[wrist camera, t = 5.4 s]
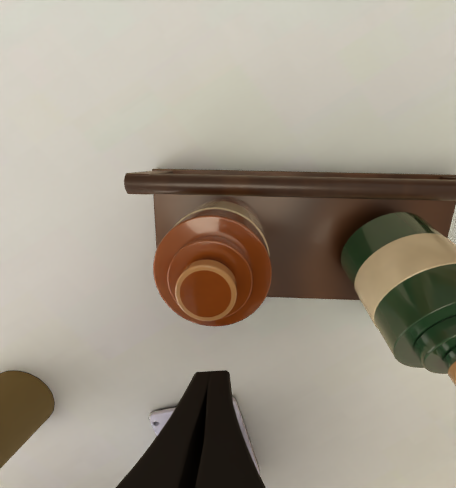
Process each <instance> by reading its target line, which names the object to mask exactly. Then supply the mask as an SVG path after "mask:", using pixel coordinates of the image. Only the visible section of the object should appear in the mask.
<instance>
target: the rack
mask: <svg viewBox="0 0 456 488" xmlns="http://www.w3.org/2000/svg"><path fill="white" fill-rule="evenodd" d="M124 185H125V189H126V191H127V193H128V194H154V212H155V229H156V247H157V248H158V246H159V244H160V242H161V240H162V239H163V238H164V236H165V235H166V234H167V233H168V232H169V231H170V230H171V229H172V228H173V227H174V226H175V225H176V223H177V222H179V221H180V220H181V219H182V218H183V217H184V216H185V215H186V214H187V213H189V212H190V211H191V210H192V209H194V208H195V207H197V206H198V205H199V204H201V203H202V202H204V201H206V200H209V199H213V198H218V197H227V198H233V199H236V200H239V201H241V202H243V203H245V204H246V205H248V206H249V207H250V208H251V209H252V210H253V211H254V212H255V213H256V215H257V216H258V218H259V220H260V222H261V224H262V227H263V230H264V233H265V236H266V240H267V244H268V248H269V254H270V261H271V267H272V279H271V285H270V289H269V291H268V294H267V296H266V297H290V298H319V299H348V300H360V299H359V297H358V295H357V293H356V291H355V288H354V287H353V285H352V283H351V281H350V280H349V278H348V276H347V275H346V273H345V271H344V269H343V268H342V265H341V253H342V250H343V247H344V245H345V244H346V242H347V241H348V239H349V238H350V237H351V236H352V234H353V233H354V232H355V231H357V230H358V229H359V228H360V227H361V226H363V225H364V224H366V223H367V222H369V221H371V220H373V219H375V218H377V217H380V216H383V215H386V214H390V213H396V212H408V213H413V214H416V215H418V216H420V217H422V218H423V219H424V220H426V221H427V222H428V223H429V224H430V225H432V226H433V227H434V228H435V229H436V230H437V231H439V232H440V233H441V234H442V235H443V236H444V237H446V238H447V237H448V233H449V229H450V225H451V221H452V217H453V213H454V209H455V205H456V175H435V174H386V173H337V172H287V171H238V170H189V169H152V171H146V172H135V173H126V175H125V179H124Z"/></svg>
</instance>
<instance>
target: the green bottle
mask: <svg viewBox="0 0 456 488" xmlns="http://www.w3.org/2000/svg"><path fill="white" fill-rule="evenodd" d="M341 265H342V268H343V269H344V271H345V273H346V275H347V276H348V278H349V280H350V281H351V283H352V285H353V287H354V288H355V291H356V293H357V295H358V297H359V299H360V300H361V302H362V304H363V305H364V307H365V309H366V311H367V312H368V314H369V316H370V317H371V319H372V321H373V323H374V324H375V326H376V327H377V328H378V329H379V331H380V333H381V334H382V336H383V338H384V340H385V341H386V343H387V345H388V346H389V348H390V350H391V352H392V353H393V355H394V357H395V358H396V359H397V360H398V361H399V362H400V363H402V364H404V365H406V366H410V367H417V368H425V369H427V370H428V371H430V372H433V373H439V374H448V376H449V377H450V378H451V380H452V381H453V383H454V384H455V386H456V245H455V244H454V243H453V242H452V241H451V240H449V239H448V238H446V237H444V236H443V235H442V234H441V233H440V232H439V231H437V230H436V229H435V228H434V227H433V226H432V225H430V224H429V223H428V222H427V221H426V220H424V219H423V218H422V217H420V216H418V215H416V214H413V213H408V212H396V213H390V214H386V215H383V216H380V217H377V218H375V219H373V220H371V221H369V222H367V223H366V224H364V225H363V226H361V227H360V228H359V229H358V230H357V231H355V232H354V233H353V234H352V236H351V237H350V238H349V239H348V241H347V242H346V244H345V245H344V247H343V250H342V253H341Z"/></svg>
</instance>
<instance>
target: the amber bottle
mask: <svg viewBox="0 0 456 488" xmlns="http://www.w3.org/2000/svg"><path fill="white" fill-rule="evenodd" d="M153 274H154V280H155V283H156V287H157V289H158V291H159V293H160V295H161V297H162V298H163V300H164V301H165V303H166V304H167V305H168V306H169V307H170V308H171V309H172V310H173V311H174V312H175V313H177V314H178V315H179V316H181V317H183V318H184V319H186V320H189V321H191V322H194V323H197V324H200V325H205V326H224V325H230V324H233V323H236V322H239V321H241V320H243V319H245V318H247V317H248V316H249V315H251V314H252V313H253V312H254V311H256V310H257V309H258V308H259V306H260V305H261V304H262V303H263V301H264V299H265V298H266V296H267V294H268V291H269V289H270V285H271V279H272V267H271V261H270V254H269V248H268V244H267V240H266V236H265V233H264V230H263V227H262V224H261V222H260V220H259V218H258V216H257V215H256V213H255V212H254V211H253V210H252V209H251V208H250V207H249V206H248V205H246V204H245V203H243V202H241V201H239V200H236V199H233V198H227V197H218V198H213V199H209V200H206V201H204V202H202V203H201V204H199V205H198V206H197V207H195V208H194V209H192V210H191V211H190V212H189V213H187V214H186V215H185V216H184V217H183V218H182V219H181V220H180V221H179V222H177V223H176V225H175V226H174V227H173V228H172V229H171V230H170V231H169V232H168V233H167V234H166V235H165V236H164V238H163V239H162V240H161V242H160V244H159V246H158V248H157V250H156V253H155V257H154V264H153Z"/></svg>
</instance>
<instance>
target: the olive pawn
mask: <svg viewBox="0 0 456 488" xmlns="http://www.w3.org/2000/svg"><path fill="white" fill-rule="evenodd" d="M53 410H54V399H53V395H52V393H51V392H50V390H49V389H48V387H47V386H46V385H45V384H44V383H43V382H42V381H41V380H40V379H38V378H36V377H34V376H32V375H30V374H28V373H24V372H20V371H6V372H3V373H0V468H1V467H2V466H3V465H4V464H5V463H6V462H7V461H8V460H9V459H10V458H11V457H12V456H13V455H14V454H15V453H16V452H17V450H18V449H19V448H20V447H21V446H22V445H23V444H24V443H25V442H26V441H27V440H28V439H29V438H30V437H31V436H32V435H33V434H34V433H35V432H36V430H37V429H38V428H39V427H40V426H41V425H42V424H43V423H44V422H45V421H46V420H47V419H48V418H49V417H50V415H51V413H52V412H53Z"/></svg>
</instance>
